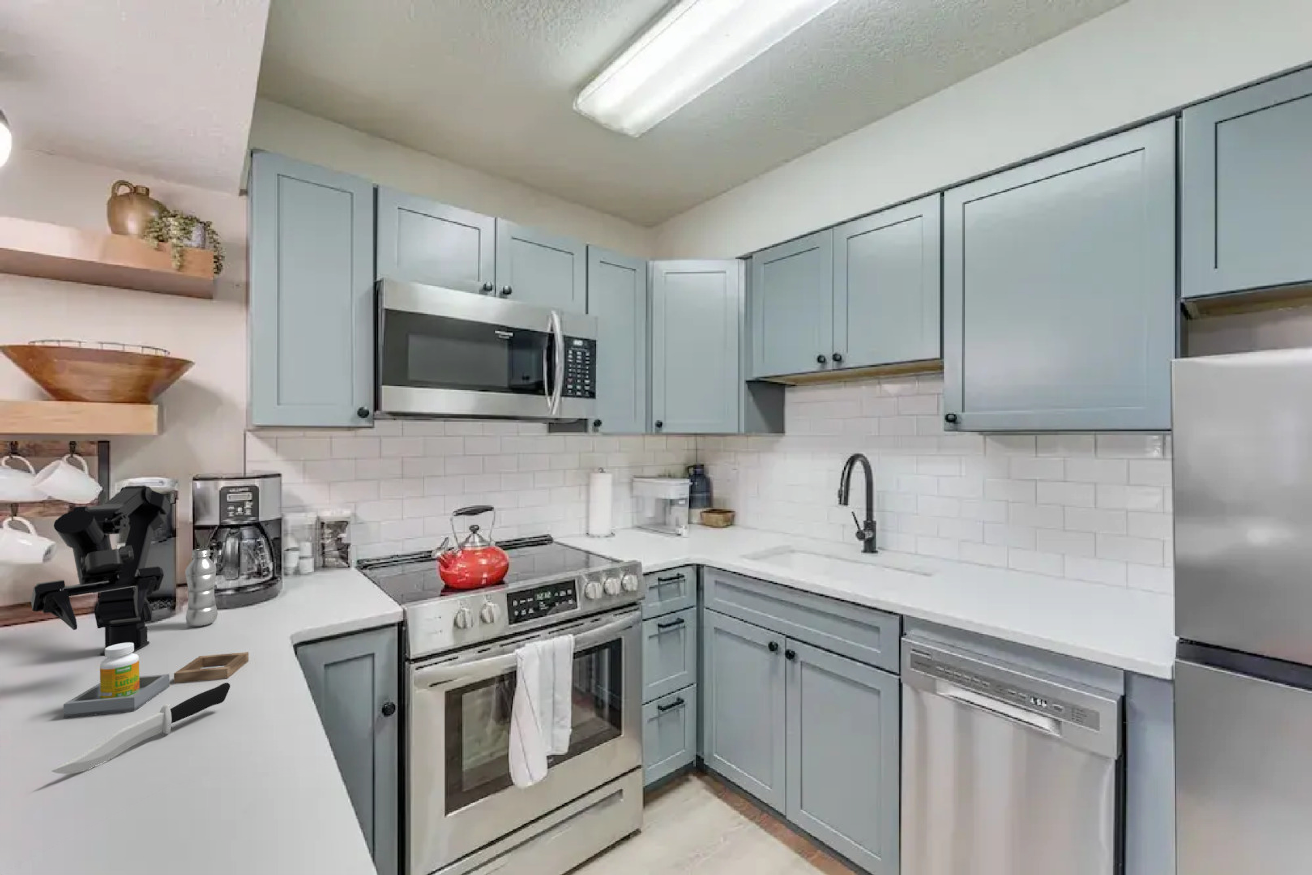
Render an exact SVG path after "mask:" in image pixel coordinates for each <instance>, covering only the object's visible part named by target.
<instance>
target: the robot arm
mask: <svg viewBox="0 0 1312 875" xmlns="http://www.w3.org/2000/svg"><path fill="white" fill-rule="evenodd" d="M170 510H171V504H170V500H169V499H168V498H167V497H166V495H165V494H163V493H161V492H158V491H155V490H153V489H152V488H151V487H150V486H149V485H148V486H147V485H143V484H142V485H126V486H122V487H121V488H120V491H119V492H118V493H116V494H115V495H114V496H113V497H111V498H110V499H109V500H107V501H106V502H104V504H100V505H95V506H90V507H88V506H87V505H86V506H84V505H83V506H74V507H73V509H72V511H68V512H66V513H64V514H61V516H59V517H58V518H57V519H56V520H55V521H54V524H53V528H54V530H55V531H56V533H57V534H58V535H59V537H60V538H61V539H62V542H64V543H65V545H66V546H67V547H68V548H71V549H72V553H73V558H74V562H75V566H76V567H75V569H76V572H77V574H76V575H77V579H78V582H79V583H78V584H72V585H71V584H70V585H66V583H65V580H64V579H60V580H58V579H57V580H52V581H47V582H46V581H45V582H38V583H36V584H35V586H33V588H32V594H31V599H30V600H31V602H30V603H31V608H32V611H33V612H37V613H38V612H42V613H44V614H48V613H49V614H52V615H53V616H55V617H56V618H58V619H60V620H61V621H63V622H64V623H65V624H66V625H67V626H68V627H70V628H71V630H73V631H75V630H78V623H77V617H76V614H75V612H74V609H73V606H72V603H71V601H70V597H74V596H79V595H86V594H88V595H89V594H97V593H98V594H99V593H100V596H99V599H98V600H97V602H96V603H95V606H94V616H95V617H94V618H95V622H96V626H97V629H101V628H104V649H105V648H107V647H109V646H112V645H115V644H120V643H134V651H133V652H132V653H134V652H136V651H138V650H140V649H142V648H144V647H145V646H147V645H149V644H150V640H148V627H147V626H146V623H148V622H151V621H152V620H153V614H154V613H153V608H152V606H151V604H150V602H149V600H148V599H147V597H148V596H150V595H152V594H153V593H154V592H156V591H159V590H160V587H161V585H162V581H163V578H164V576H165V575H164V571H163V568H161V567H160V566H159V565H158V566H151V567H150V566H149V567H146V564H147V559H148V556H149V552H150V549H151V545H152V544H151V543H152V539H153V535H154V534H155V531H156V530H158V529H159V528H160V527H161V526H162V525H163V524H165V521H166V517H167V515H169V514H170ZM128 525H129V529H128V533H127V536H126V539H125V543H124V545H121V546H119V548H113V547H112V544H111V539H110V537H109V536H108V535H119V534H121V533H122V532H124V530H125V529H126V528H127V527H128ZM99 655H100V656H105V650H103V651H101V652H99Z"/></svg>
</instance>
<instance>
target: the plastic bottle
mask: <svg viewBox="0 0 1312 875" xmlns="http://www.w3.org/2000/svg"><path fill="white" fill-rule="evenodd" d="M210 556H211V549H210V548H199V549H192V551H191V559H192V560H191V561H190V563H189V564H188V565H187V566H186V568H185V571H184V572H185V573H184V574H185V579H186V584H187V591H188V593H187V594H188V599H187V600H188V601H187V610H186V615H185V620H186V624H187V625H188V626H189V627H203V625H204V626H207V625H210V624H212V623H214V622H215V621H216V620H217V618H218V614H219V613H218V608H217V605H216V598H215V584H216V583H215V581H216V576H217V566H216V564H215V563H214V562H213V560H212V559H210Z"/></svg>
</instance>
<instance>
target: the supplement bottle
mask: <svg viewBox="0 0 1312 875" xmlns="http://www.w3.org/2000/svg"><path fill="white" fill-rule="evenodd" d="M104 651H105V655H104V656H105V657H106V658H105V659H102V661H101V662H100V664H99V683H100V699H105V698H115V697H126V696H133V695H134V694H136V693H137V692H139V689H140V687H139V677H140V658H139V654H137V653H134V652H133V651H134V643H120V644H115V645H112V646H109V647H107V648H105V647H104Z"/></svg>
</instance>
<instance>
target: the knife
mask: <svg viewBox="0 0 1312 875" xmlns="http://www.w3.org/2000/svg"><path fill="white" fill-rule="evenodd" d="M230 688H231V684H230V683H229V682H223V683H221V684H219V685H217V686H215V687H213V688H211V689H208V690H205V691H203V692H200V693H198V694H196V695H194V696H192V697H190V698H187V699H186V700H184V701H181V703H178V704H177V705H175V706H173V707H171V704H170V703H169V704H168V703H166V704H164V705H163V706H162V707H161V708H160V711H159V712H158V713H155V714H152V715H150V716H148V717H146V718H143V719H141V720H139V721H136V722H134V723H133V724H130V725H128V726H124V727H123V728H121V729H119V730H117V731H115V732H114V733H112V734H111V735H109V736H108V737H106V738H105V739H104V740H102V741H101V742H100V743H98V744H96V745H95V746H94V747H92V748H90V749H89V750H87V751H85V752H83V753H81V754H80V755H78V756H76V757H74V758H72V759H70V760H68V761H67V762H65V763H63V764H61V765H59V766H57V767H55V768H54V769H51V772H52V773H56V774H62V775H67V774H76V773H80V772H81V773H82V772H84V771H83V770H85V771H87V770H86V769H89V768H91V767H93V766H95V765H98V764H100V763H103V762H104V761H107V762H109V761H111V760H112V759H114V758H116V757H117V756H118V755H120V754H122V753H123V752H125V751H126V750H128V749H129V748H132V746H135V745H137V744H139V743H140V742H142V741H145V740H147V739H149V738H150V737H153V736H155V735H157V734H159V733H163V734H166V735H168V734H171V727H172V724H174V723H176V722H179V721H181V720H184V719H186V718H188V717H191V716H193V715H195V714H197V713H200V712H202V711H204V710H206V709H209V708H210V707H213V706H216V705H219V704H222V703H224V701H225V700H226V697H227V696H228V693H229V690H230ZM110 759H111V760H110ZM108 760H109V761H108ZM89 770H90V769H89Z"/></svg>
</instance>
